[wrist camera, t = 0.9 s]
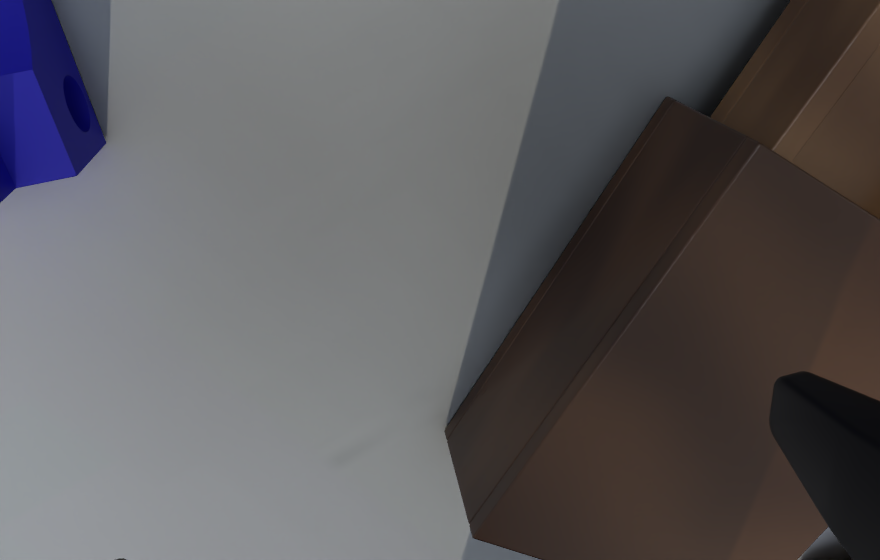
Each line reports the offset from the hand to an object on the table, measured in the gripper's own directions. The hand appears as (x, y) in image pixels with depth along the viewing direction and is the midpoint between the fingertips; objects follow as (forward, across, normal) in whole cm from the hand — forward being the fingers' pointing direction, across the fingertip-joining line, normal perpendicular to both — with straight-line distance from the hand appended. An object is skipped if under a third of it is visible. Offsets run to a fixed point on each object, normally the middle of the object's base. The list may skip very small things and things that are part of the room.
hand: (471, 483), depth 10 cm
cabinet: (+13, -10, +10) cm, 19 cm away
